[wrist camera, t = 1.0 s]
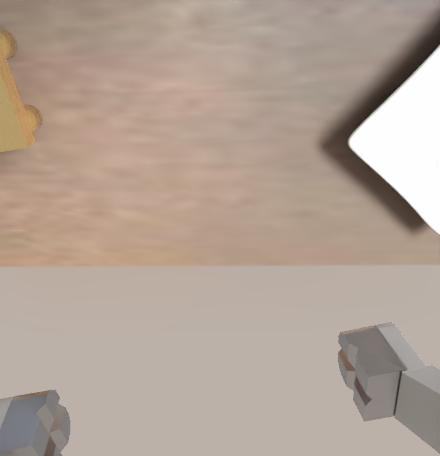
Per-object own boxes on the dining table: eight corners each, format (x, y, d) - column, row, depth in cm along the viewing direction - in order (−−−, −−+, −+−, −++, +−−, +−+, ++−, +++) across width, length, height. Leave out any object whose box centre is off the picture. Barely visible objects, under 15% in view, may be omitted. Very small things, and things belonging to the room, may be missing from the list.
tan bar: (-21, 27, 35) (-55, 30, 30) (10, 23, 35) (-18, 25, 30) (20, 133, 40) (-3, 152, 35) (47, 129, 40) (28, 147, 35)
